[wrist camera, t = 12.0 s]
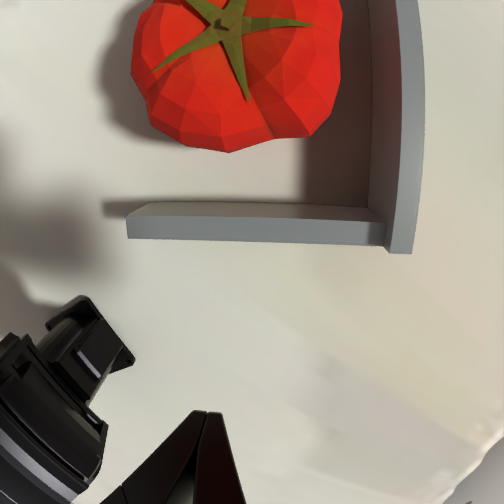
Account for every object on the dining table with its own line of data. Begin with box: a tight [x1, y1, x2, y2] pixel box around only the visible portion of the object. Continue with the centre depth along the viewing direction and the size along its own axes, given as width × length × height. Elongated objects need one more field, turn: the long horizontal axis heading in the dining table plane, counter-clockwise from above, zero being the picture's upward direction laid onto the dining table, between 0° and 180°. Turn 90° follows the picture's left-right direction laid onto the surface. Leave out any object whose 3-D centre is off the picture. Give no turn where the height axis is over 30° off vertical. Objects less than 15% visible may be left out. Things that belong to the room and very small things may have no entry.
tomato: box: [131, 0, 343, 153], centre depth 12 cm, size 10×11×6 cm
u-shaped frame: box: [126, 0, 425, 254], centre depth 13 cm, size 14×19×4 cm
